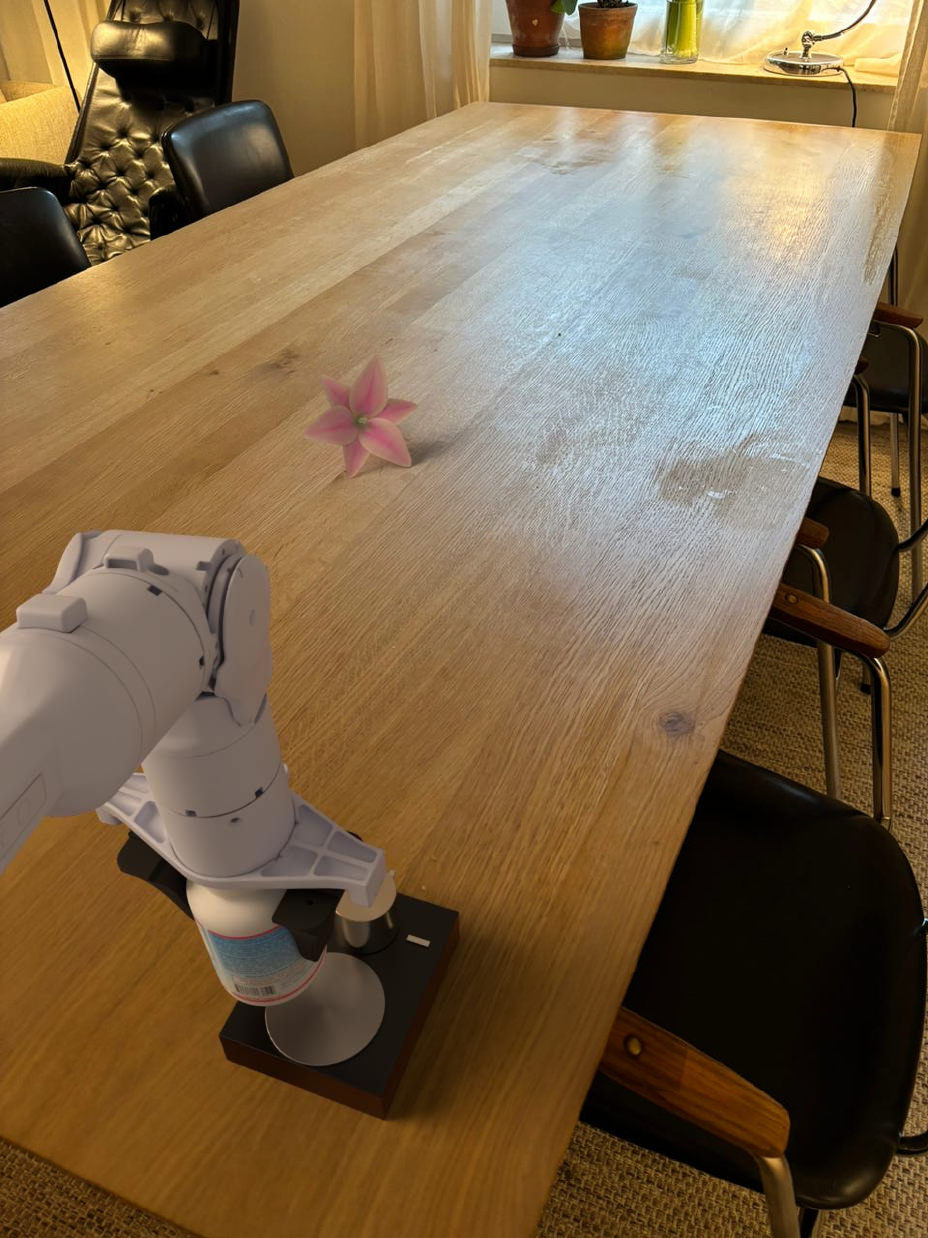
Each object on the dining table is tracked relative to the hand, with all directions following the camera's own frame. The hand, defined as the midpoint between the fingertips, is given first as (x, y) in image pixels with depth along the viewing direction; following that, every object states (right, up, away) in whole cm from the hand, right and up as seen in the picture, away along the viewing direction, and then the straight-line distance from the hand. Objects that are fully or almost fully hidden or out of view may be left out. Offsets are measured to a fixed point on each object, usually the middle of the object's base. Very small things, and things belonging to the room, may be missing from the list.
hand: (263, 925), depth 52 cm
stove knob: (+5, -2, +8) cm, 10 cm away
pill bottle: (0, -3, +3) cm, 4 cm away
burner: (+3, -6, +4) cm, 8 cm away
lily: (0, +34, +55) cm, 65 cm away
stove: (+4, -7, +8) cm, 11 cm away
